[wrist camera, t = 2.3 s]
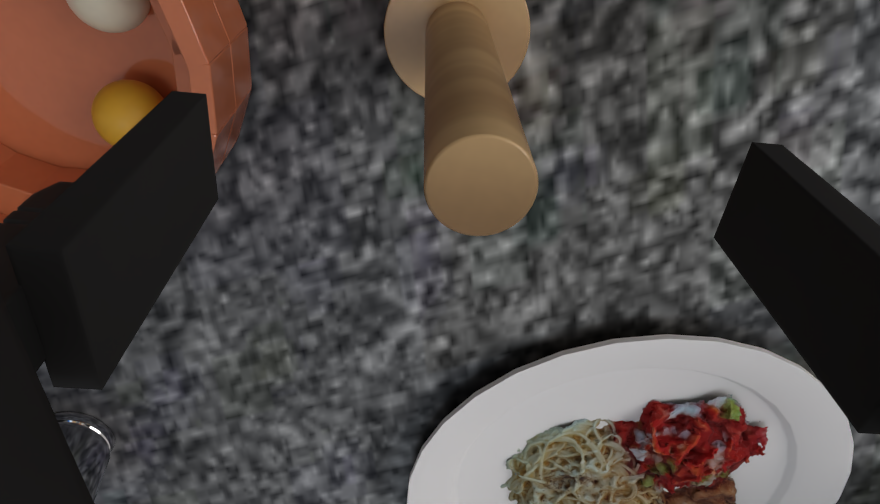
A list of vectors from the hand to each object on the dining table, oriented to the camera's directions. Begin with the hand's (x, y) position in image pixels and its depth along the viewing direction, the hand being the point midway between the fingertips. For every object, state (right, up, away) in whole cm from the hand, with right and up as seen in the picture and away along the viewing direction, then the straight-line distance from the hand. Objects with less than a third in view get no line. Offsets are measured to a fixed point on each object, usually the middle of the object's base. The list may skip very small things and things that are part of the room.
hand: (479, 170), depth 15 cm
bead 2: (-14, +4, +11) cm, 18 cm away
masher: (0, +8, +11) cm, 14 cm away
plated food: (+12, -18, +29) cm, 36 cm away
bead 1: (-14, +8, +8) cm, 18 cm away
